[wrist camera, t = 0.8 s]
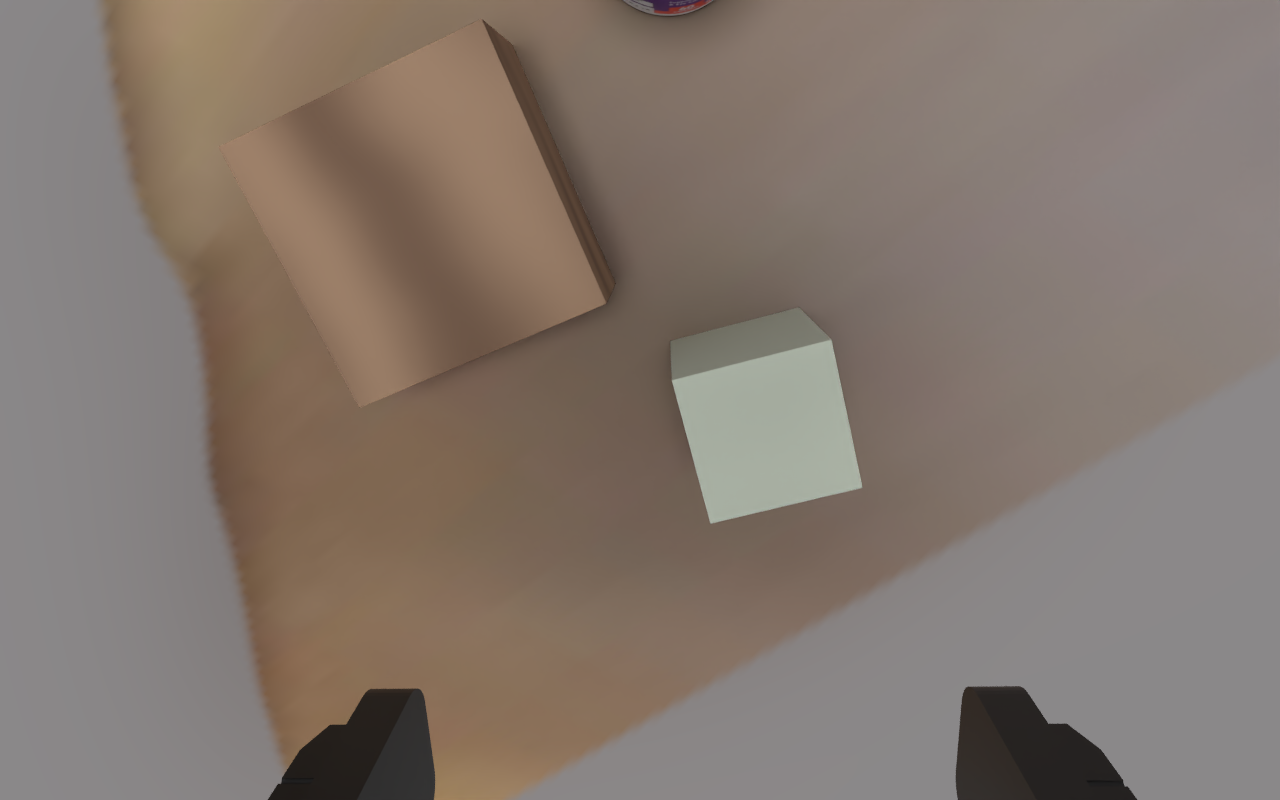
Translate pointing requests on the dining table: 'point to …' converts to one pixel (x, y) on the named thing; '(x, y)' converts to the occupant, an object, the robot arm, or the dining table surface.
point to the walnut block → (423, 213)
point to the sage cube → (764, 414)
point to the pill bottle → (667, 6)
